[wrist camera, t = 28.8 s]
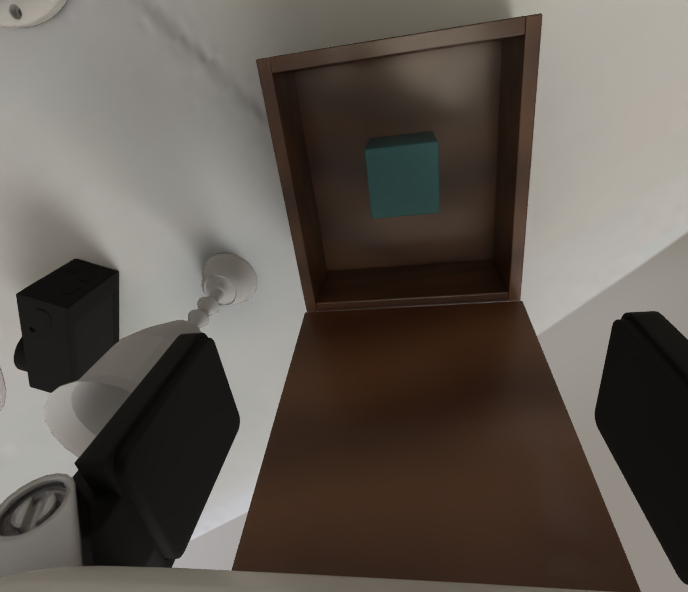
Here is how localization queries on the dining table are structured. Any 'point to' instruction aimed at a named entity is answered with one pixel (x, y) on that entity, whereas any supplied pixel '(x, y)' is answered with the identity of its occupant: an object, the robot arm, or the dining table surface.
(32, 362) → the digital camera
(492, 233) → the box
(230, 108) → the dining table surface
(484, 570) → the box lid
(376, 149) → the block
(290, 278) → the dining table surface
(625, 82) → the dining table surface
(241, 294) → the chalice
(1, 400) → the dish
